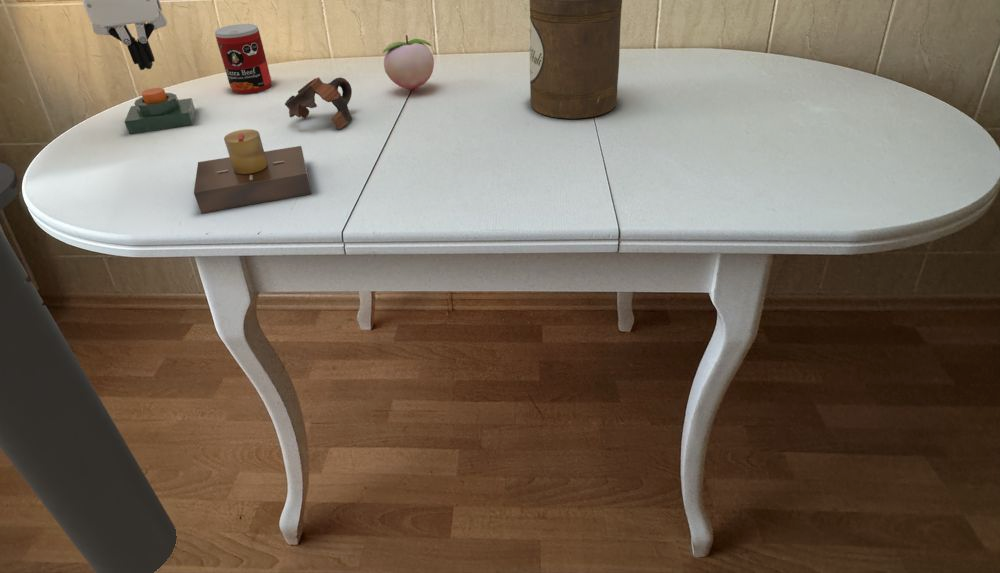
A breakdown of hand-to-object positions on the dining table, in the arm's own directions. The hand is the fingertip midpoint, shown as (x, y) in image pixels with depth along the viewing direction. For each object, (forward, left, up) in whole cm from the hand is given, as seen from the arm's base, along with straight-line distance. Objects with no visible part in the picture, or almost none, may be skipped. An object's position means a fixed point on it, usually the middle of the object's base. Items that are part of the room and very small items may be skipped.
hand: (146, 67), depth 103 cm
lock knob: (+15, -34, -6) cm, 38 cm away
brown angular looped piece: (+27, -12, -9) cm, 31 cm away
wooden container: (+68, -22, -10) cm, 72 cm away
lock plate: (+15, -34, -9) cm, 38 cm away
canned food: (+15, +13, -9) cm, 22 cm away
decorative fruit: (+44, -3, -10) cm, 45 cm away
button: (0, 0, -6) cm, 6 cm away
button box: (0, 0, -9) cm, 9 cm away
